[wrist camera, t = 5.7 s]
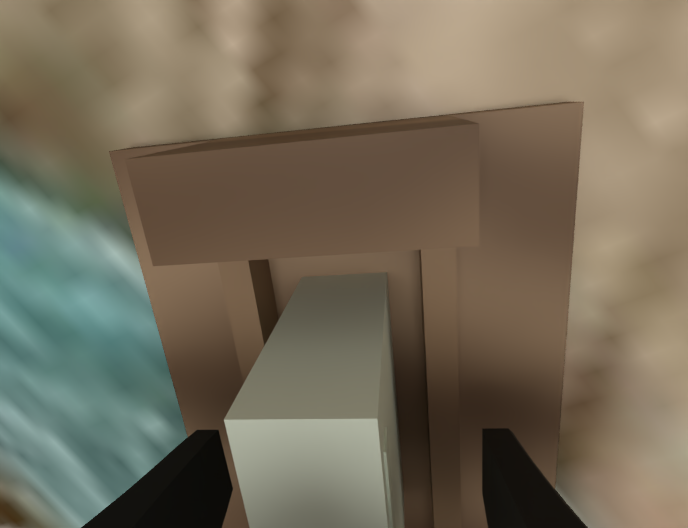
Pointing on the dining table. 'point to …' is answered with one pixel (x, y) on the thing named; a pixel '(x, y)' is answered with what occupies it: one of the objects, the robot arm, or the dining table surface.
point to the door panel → (322, 412)
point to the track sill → (375, 257)
